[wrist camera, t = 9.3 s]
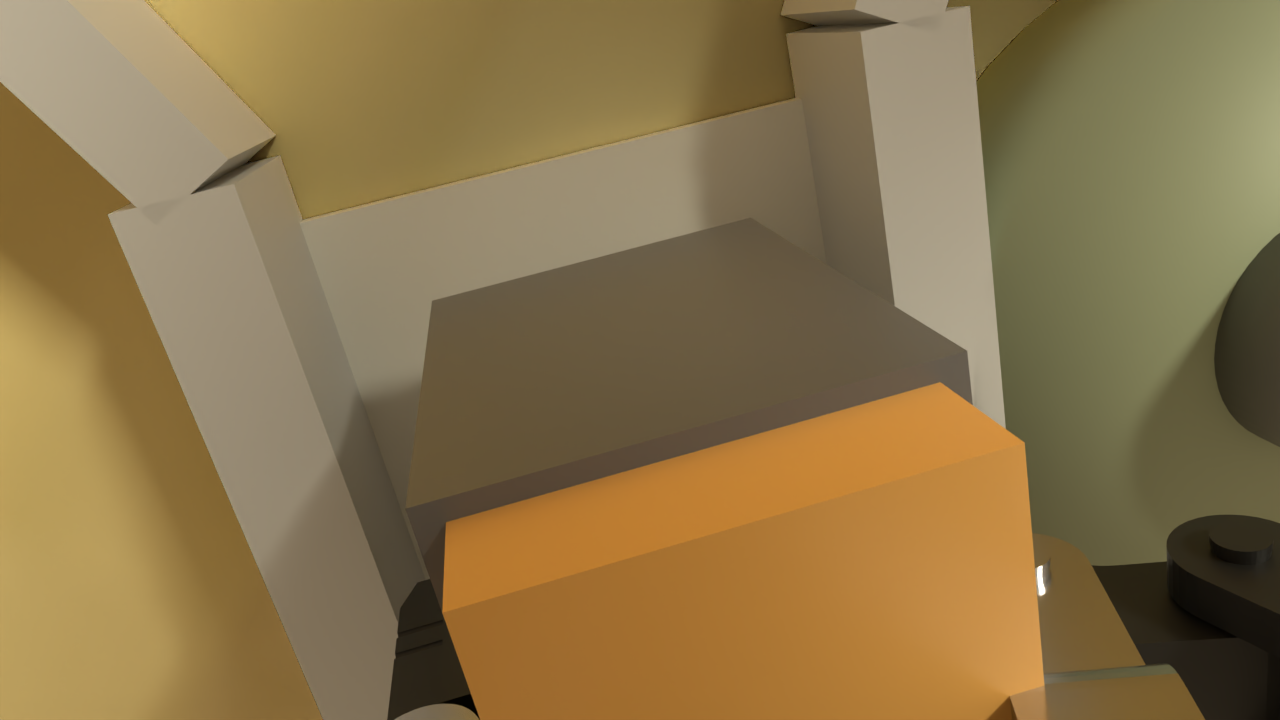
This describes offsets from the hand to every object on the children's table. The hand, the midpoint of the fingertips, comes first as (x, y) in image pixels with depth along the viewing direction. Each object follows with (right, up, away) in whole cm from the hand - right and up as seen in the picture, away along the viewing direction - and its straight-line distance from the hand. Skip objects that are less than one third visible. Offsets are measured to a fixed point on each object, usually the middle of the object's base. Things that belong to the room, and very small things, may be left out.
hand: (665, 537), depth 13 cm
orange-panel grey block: (0, 0, +1) cm, 1 cm away
